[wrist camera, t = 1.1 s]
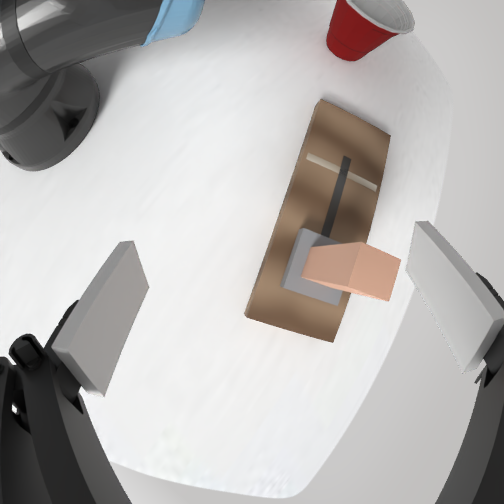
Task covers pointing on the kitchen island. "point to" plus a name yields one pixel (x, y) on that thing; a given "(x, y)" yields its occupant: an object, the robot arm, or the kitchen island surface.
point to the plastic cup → (366, 26)
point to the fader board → (321, 215)
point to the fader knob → (338, 269)
